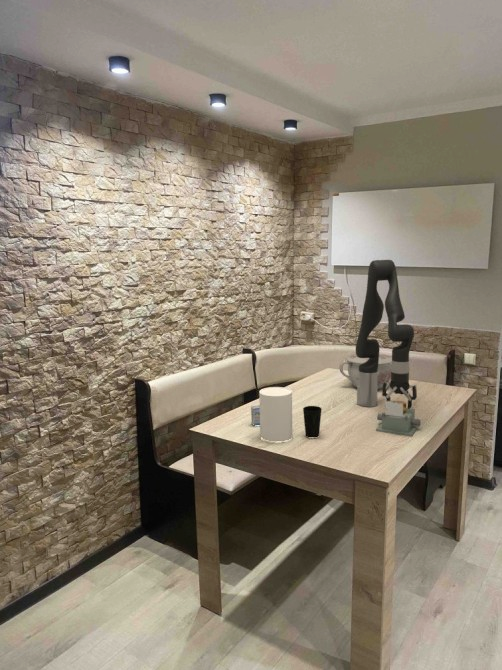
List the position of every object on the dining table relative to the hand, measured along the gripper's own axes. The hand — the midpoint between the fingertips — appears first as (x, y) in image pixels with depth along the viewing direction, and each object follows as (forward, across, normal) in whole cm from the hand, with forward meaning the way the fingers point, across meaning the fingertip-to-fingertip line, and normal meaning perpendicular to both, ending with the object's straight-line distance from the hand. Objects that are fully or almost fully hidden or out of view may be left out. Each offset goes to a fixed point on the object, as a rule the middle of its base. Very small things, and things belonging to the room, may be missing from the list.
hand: (398, 407), depth 216 cm
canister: (+9, -43, -34) cm, 56 cm away
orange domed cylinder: (+8, 0, 0) cm, 8 cm away
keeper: (+2, 0, -8) cm, 8 cm away
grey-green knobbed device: (+9, 0, 0) cm, 9 cm away
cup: (+9, -30, -26) cm, 41 cm away
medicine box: (+9, -56, -23) cm, 61 cm away
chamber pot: (+9, -29, +58) cm, 66 cm away
